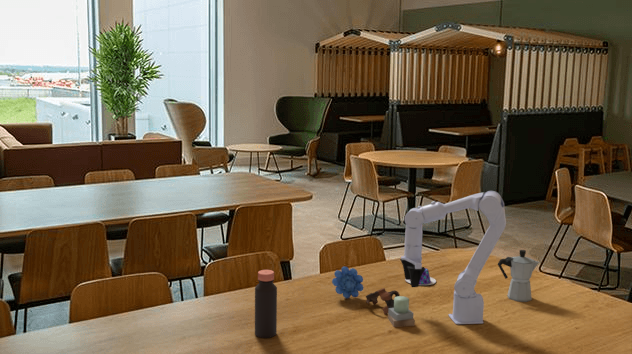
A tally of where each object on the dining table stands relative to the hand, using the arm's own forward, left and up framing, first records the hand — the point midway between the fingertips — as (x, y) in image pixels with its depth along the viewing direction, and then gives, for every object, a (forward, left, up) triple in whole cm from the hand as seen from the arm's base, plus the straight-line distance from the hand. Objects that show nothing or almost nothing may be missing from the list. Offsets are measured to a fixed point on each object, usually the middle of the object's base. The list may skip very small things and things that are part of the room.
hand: (411, 283), depth 221 cm
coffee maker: (-43, -11, -11) cm, 46 cm away
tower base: (+5, +8, -11) cm, 15 cm away
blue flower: (+19, -14, -11) cm, 26 cm away
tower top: (+6, +8, -8) cm, 13 cm away
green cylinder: (+5, +8, -6) cm, 12 cm away
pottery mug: (+8, -4, -11) cm, 14 cm away
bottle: (+50, +14, -11) cm, 53 cm away
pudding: (-13, -32, -11) cm, 36 cm away
